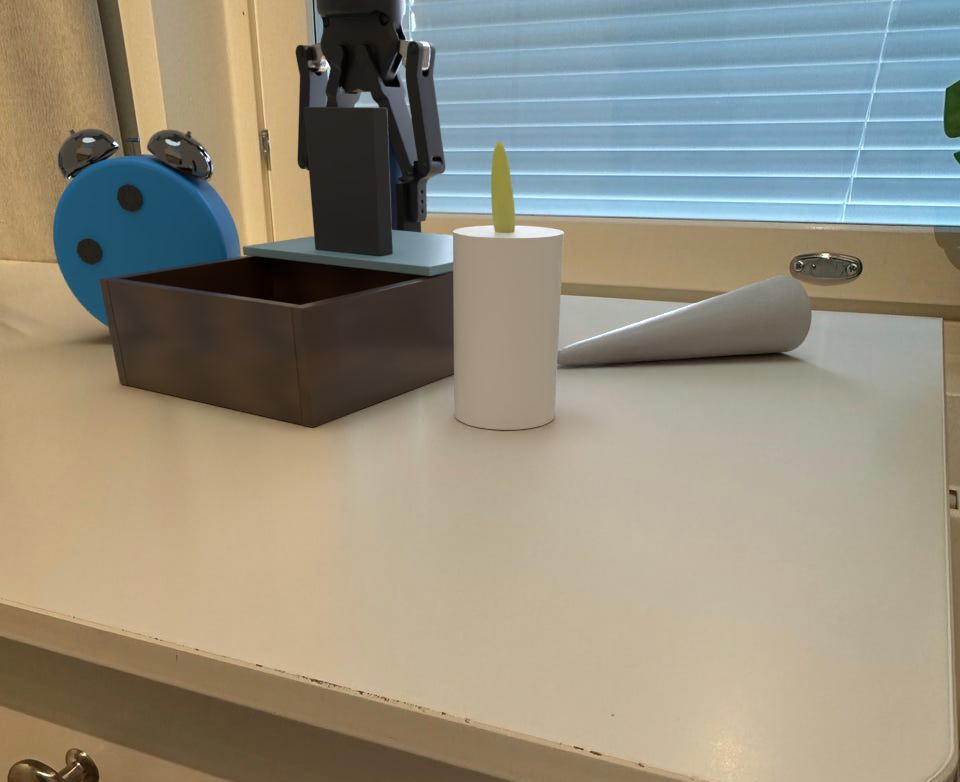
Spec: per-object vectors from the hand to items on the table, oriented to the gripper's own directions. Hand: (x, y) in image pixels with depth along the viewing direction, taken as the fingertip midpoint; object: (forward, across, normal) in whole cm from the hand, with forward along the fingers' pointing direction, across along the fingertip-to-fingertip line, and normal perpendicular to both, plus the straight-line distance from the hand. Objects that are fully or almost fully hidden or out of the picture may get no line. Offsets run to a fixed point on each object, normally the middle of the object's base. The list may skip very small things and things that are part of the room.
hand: (373, 255), depth 85 cm
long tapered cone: (+4, +34, -6) cm, 35 cm away
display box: (+4, +13, -19) cm, 24 cm away
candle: (+4, +30, -25) cm, 39 cm away
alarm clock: (+4, -5, -22) cm, 23 cm away
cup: (+4, 0, 0) cm, 4 cm away
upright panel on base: (-3, +13, -14) cm, 19 cm away
